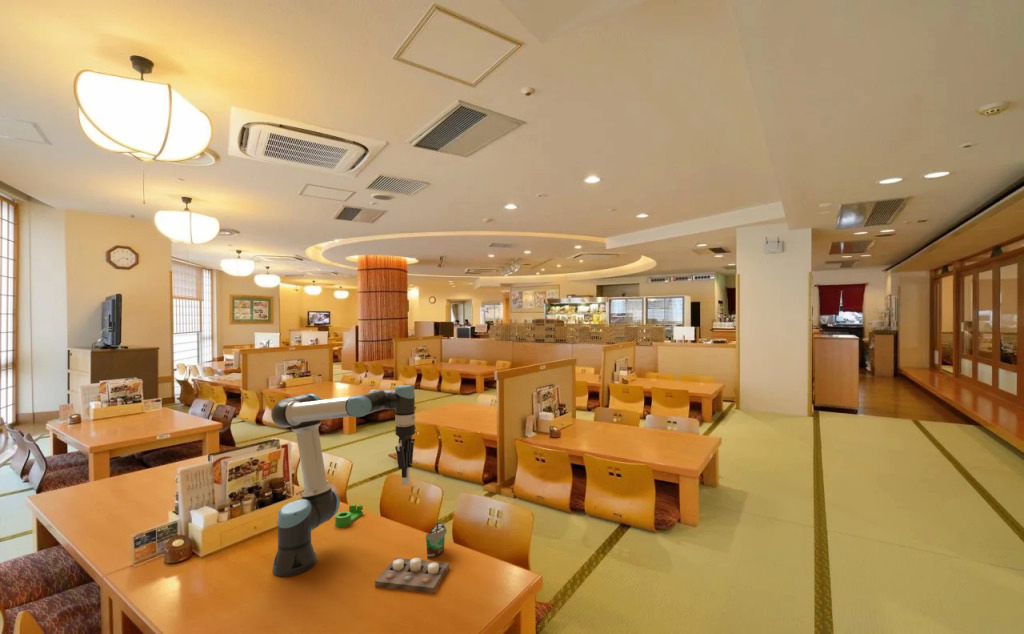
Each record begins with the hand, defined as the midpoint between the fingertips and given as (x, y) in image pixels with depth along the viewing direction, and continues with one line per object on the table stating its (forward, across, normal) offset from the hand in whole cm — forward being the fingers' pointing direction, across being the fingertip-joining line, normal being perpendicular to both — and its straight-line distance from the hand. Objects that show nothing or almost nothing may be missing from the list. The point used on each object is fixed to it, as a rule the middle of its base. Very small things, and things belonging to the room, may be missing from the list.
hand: (405, 484), depth 171 cm
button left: (+30, -7, 0) cm, 31 cm away
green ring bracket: (+31, +30, +44) cm, 62 cm away
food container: (+31, +9, -10) cm, 33 cm away
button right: (+30, -7, -14) cm, 34 cm away
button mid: (+29, -7, -7) cm, 30 cm away
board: (+30, -9, -7) cm, 32 cm away
